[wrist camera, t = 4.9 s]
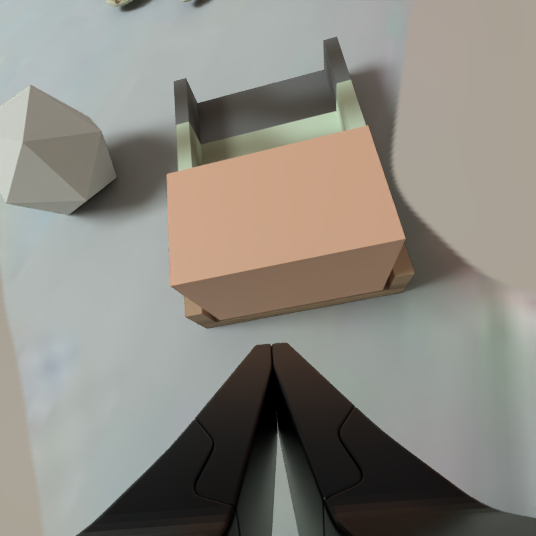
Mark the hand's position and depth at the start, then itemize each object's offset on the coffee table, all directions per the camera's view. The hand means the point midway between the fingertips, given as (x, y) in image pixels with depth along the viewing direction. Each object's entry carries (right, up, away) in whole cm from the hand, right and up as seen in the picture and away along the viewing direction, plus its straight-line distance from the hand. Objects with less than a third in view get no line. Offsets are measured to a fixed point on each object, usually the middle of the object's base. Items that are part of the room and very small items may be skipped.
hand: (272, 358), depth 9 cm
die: (-16, +9, +20) cm, 27 cm away
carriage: (+1, +3, +13) cm, 13 cm away
